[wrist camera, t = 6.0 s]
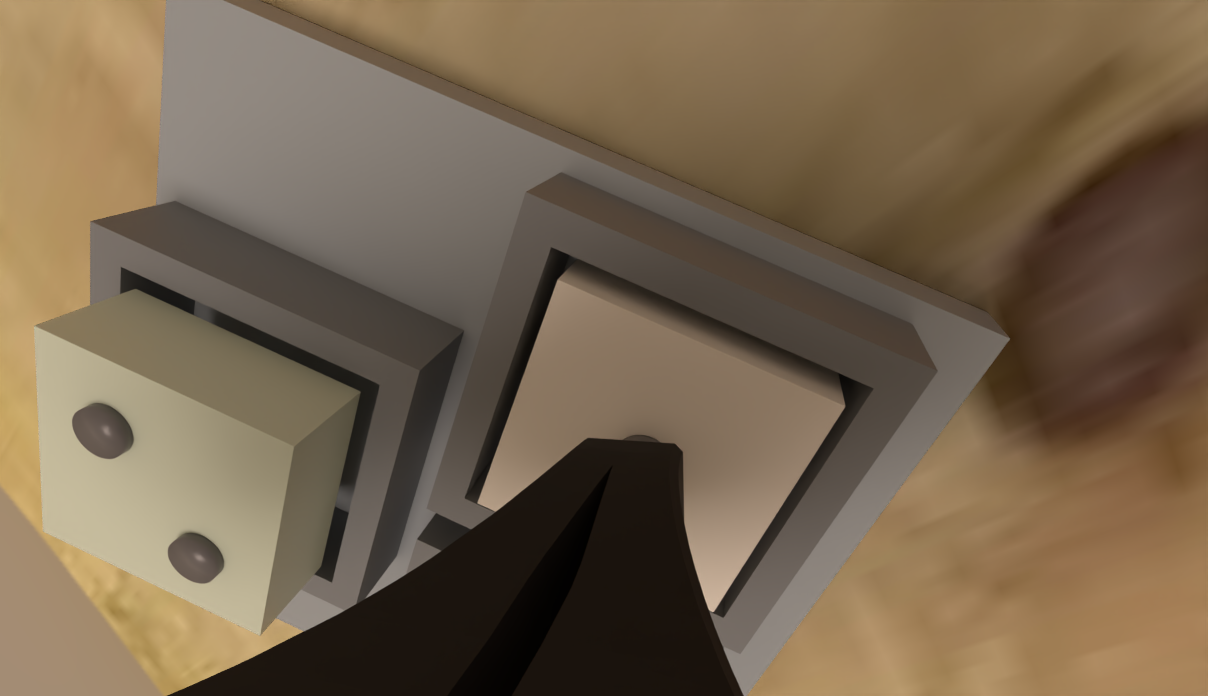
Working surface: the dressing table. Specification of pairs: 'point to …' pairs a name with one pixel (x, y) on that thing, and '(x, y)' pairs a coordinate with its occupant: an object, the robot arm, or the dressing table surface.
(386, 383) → the stacking puzzle board
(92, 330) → the tile sage
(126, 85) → the dressing table surface
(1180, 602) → the dressing table surface
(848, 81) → the dressing table surface
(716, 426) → the tile ivory
